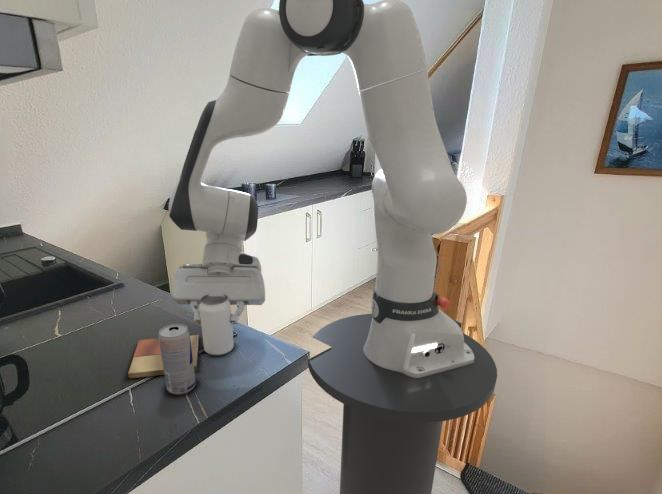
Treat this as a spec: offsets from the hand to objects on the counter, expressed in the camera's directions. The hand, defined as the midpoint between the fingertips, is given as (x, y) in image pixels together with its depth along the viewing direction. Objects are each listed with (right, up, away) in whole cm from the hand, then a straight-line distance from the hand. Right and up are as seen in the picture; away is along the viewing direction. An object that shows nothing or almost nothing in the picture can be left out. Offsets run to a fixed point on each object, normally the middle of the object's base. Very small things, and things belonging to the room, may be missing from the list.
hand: (216, 323), depth 86 cm
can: (0, -6, +3) cm, 7 cm away
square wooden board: (-10, -7, 0) cm, 13 cm away
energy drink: (-5, -11, -9) cm, 15 cm away
